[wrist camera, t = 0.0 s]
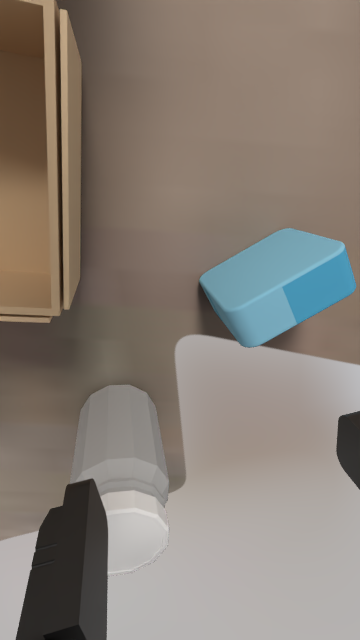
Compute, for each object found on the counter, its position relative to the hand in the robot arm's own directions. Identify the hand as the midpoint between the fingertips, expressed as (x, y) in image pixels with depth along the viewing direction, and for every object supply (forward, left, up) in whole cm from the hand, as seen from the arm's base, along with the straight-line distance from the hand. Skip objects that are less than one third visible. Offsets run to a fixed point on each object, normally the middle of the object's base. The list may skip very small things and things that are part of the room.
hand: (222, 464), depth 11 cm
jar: (+19, -7, -30) cm, 36 cm away
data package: (+3, +12, -30) cm, 32 cm away
